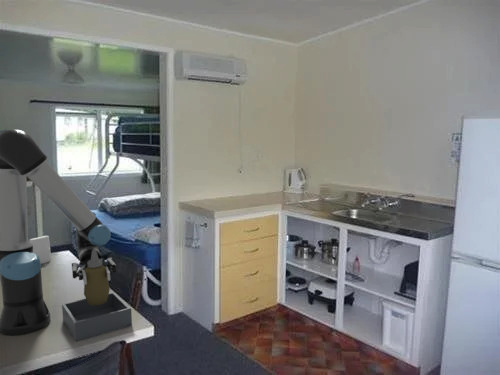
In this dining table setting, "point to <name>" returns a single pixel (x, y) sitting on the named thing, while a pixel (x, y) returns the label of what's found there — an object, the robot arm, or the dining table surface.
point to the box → (96, 317)
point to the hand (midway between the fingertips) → (97, 278)
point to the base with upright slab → (42, 248)
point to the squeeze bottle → (96, 281)
